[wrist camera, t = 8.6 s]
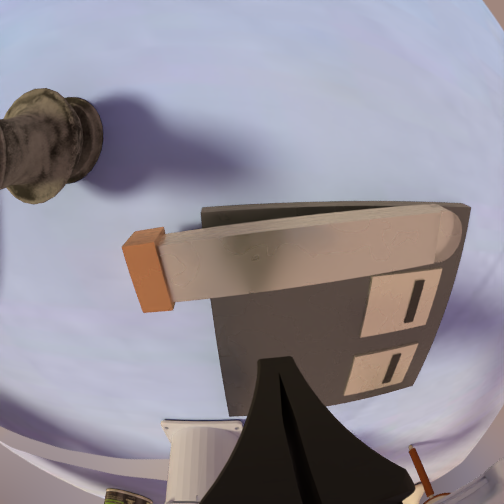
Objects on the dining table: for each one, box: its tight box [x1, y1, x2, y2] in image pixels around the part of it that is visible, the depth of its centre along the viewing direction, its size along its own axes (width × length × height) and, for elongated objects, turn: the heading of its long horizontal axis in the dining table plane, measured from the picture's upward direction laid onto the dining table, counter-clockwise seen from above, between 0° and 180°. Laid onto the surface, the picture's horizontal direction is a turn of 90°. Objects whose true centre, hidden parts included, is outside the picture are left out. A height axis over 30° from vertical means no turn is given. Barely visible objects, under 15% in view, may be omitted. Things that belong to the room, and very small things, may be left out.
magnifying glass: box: [408, 445, 451, 504], centre depth 24 cm, size 9×2×20 cm, turn 133°
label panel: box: [201, 201, 471, 417], centre depth 19 cm, size 18×18×2 cm
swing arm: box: [122, 204, 462, 313], centre depth 14 cm, size 18×4×2 cm, turn 96°
